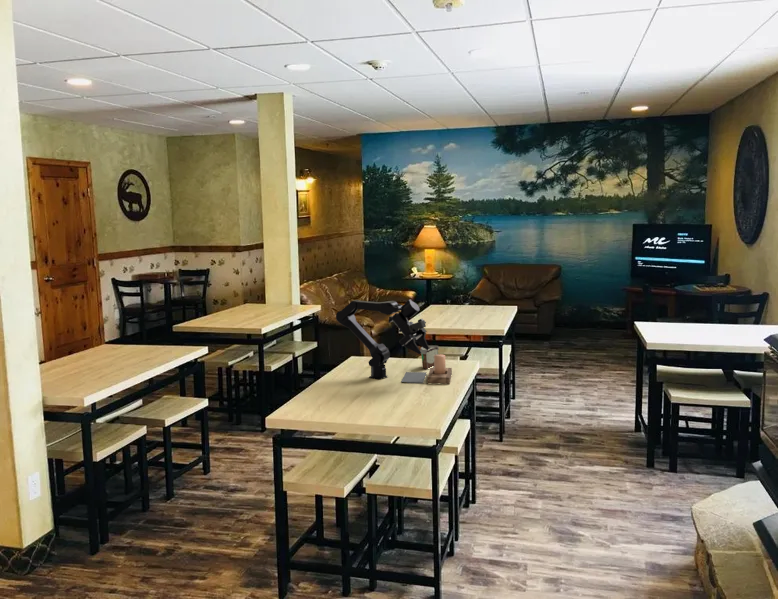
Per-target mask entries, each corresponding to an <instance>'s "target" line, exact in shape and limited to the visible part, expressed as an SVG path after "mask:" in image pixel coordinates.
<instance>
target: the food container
mask: <svg viewBox="0 0 778 599" xmlns="http://www.w3.org/2000/svg"><path fill="white" fill-rule="evenodd" d="M428 347H429V349H428V350H426V349H425V348H423V347H422V346H421V347H420V348H419V350H420V351H421V367H422V369H423V368H425V369H424V370H426V369H428V368H430V367H432V366H434V355H437V354H439V350H440V349H439V345H428ZM428 370H429V369H428Z"/></svg>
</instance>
